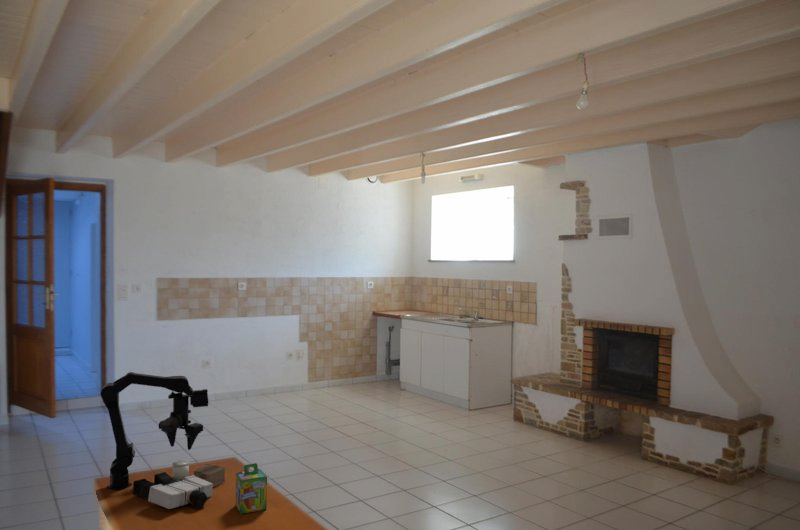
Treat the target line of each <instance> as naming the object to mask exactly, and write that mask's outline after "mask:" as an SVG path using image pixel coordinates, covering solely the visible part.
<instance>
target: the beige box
mask: <svg viewBox="0 0 800 530" xmlns="http://www.w3.org/2000/svg"><path fill="white" fill-rule="evenodd" d="M225 469H226V467H225V466H221V465H217V464H216V465H215V464H211V463H208V464H206V465H203V466H201V467H199V468H197V469H194V470H193V475H195V476H196V477H198V478H201V479H203V480H205V481H208V482H210V483H212V484H213V487H214V488H215V486H216V487H218V486H220V485H222V484H223V482H224V483H225V480H226V479H225V478H226V477H225V473H226V470H225ZM219 484H220V485H219ZM217 485H218V486H217Z"/></svg>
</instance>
